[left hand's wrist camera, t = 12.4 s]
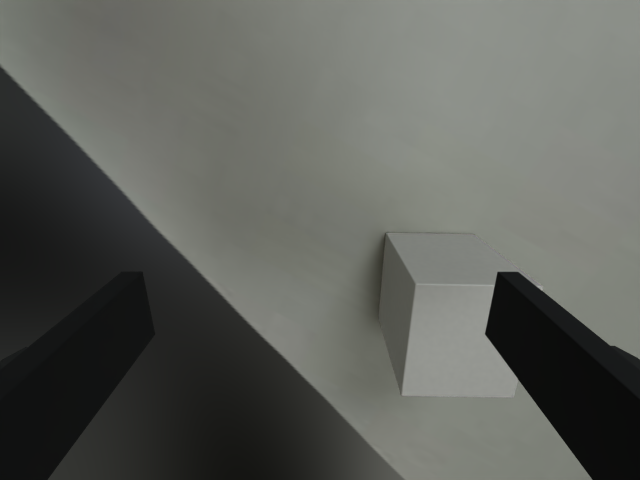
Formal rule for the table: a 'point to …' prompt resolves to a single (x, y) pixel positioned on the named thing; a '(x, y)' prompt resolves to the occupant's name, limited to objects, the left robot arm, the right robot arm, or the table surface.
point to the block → (443, 315)
